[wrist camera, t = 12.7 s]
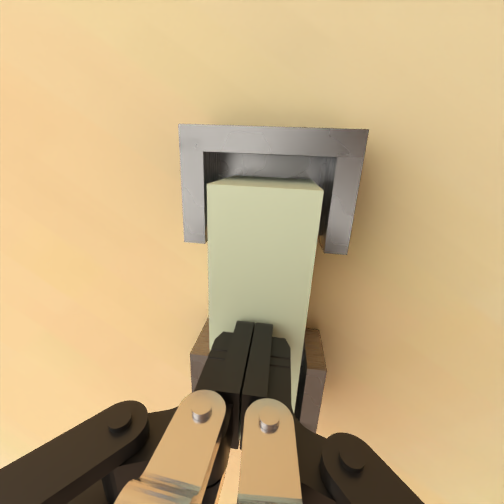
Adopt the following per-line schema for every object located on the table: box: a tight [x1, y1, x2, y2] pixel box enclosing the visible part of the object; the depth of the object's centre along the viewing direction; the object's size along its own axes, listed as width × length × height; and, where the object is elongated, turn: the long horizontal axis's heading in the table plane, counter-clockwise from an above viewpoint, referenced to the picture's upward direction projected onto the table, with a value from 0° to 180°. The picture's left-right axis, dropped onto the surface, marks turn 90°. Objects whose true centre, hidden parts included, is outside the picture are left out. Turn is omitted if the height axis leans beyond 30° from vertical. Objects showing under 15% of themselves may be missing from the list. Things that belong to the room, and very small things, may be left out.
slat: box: [207, 175, 324, 435], centre depth 13 cm, size 12×4×5 cm, turn 178°
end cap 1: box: [178, 124, 369, 255], centre depth 13 cm, size 5×7×4 cm
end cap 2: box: [190, 318, 327, 433], centre depth 17 cm, size 5×7×4 cm
